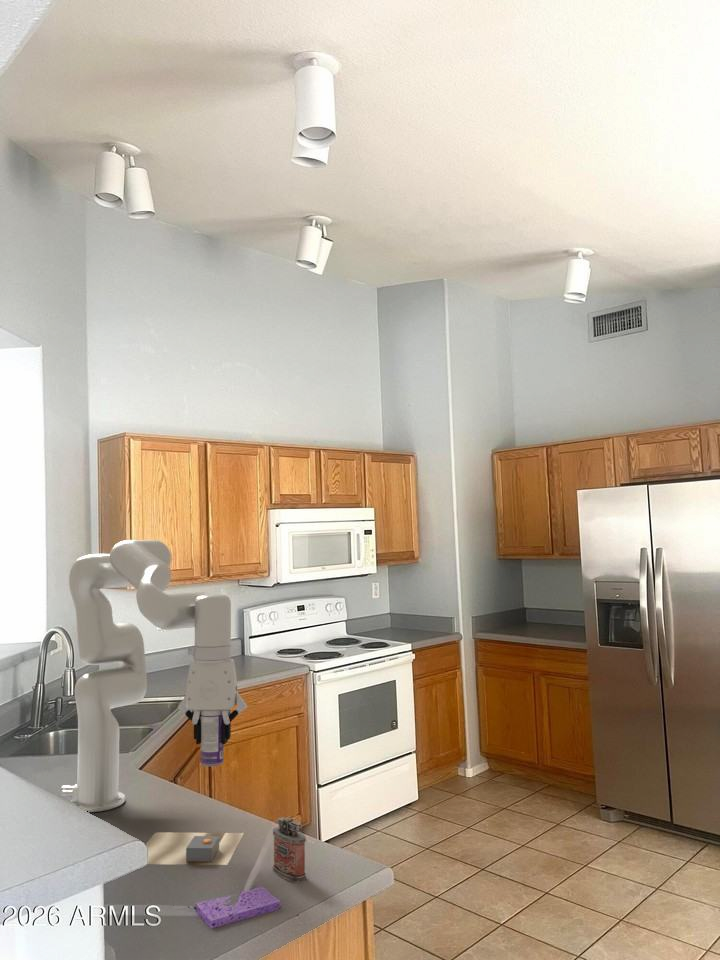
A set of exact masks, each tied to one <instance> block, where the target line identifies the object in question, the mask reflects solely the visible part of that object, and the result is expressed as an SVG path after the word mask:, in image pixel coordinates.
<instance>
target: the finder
mask: <svg viewBox="0 0 720 960" xmlns="http://www.w3.org/2000/svg"><path fill="white" fill-rule="evenodd" d="M218 851H219V836H194V838H193V839H192V840H191V842H190V843H189V845H188V846H187V848H186V862H212V861H213V859H214V857H215V856H216V854H217V852H218Z"/></svg>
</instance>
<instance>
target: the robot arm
mask: <svg viewBox="0 0 720 960" xmlns="http://www.w3.org/2000/svg"><path fill="white" fill-rule="evenodd" d="M171 561H172V554H171V552H170V549H169V548H168V546H167V545H166V543H164V542H163V541H161V540H156V539H128V540H123V541H122V540H121V541H119V542H118V543H116V544H115V545H114V546H113V547H112V548H111V549H110V551H109V553H94V554H93V553H92V554H87V555H84V556H81V557H78V558H77V559H76V560H75V561H74V563H73V564H72V566H71V567H70V570H69V574H68V575H69V576H68V585H69V590H70V595H71V598H72V601H73V605H74V608H75V615H76V616H75V617H76V632H77V647H78V653H79V658H80V660H81V661H82V662H83V664H85V665H88V666H96V665H98V666H99V665H106V664H113V663H117V664H118V667H114V668H106V669H98V670H93V671H90V672H87V673H85V674H83V675H81V677H79V678H78V680H77V681H76V683H75V685H74V698H75V699H74V701H75V704H76V705H75V706H76V711H77V732H78V733H77V735H78V736H77V772H76V773H77V774H76V775H77V776H76V778H77V779H76V780H77V781H76V784H75V785H62V786H61V788H60V793H61V796H62V797H70V798H71V800H70V801H69V804H70V803H72V804H74V805H76V806H78V807H80V808H82V809H84V810H86V811H88V812H87V813H96V812H103V811H109V810H112V809H115V808H118V807H119V806H122V805H123V803H125V801H126V794H124V793H123V792H121V791H119V783H120V782H119V781H120V780H119V773H120V768H119V767H120V725H119V722H118V720H117V719H116V717H115V715H114V714H113V713H112V711H111V710H112V709H115V708H120V707H125V706H126V707H127V706H131V705H135V704H137V703H140V702H141V701H142V700H143V699H144V697H145V696H146V693H147V688H148V679H147V676H148V675H147V667H146V664H147V663H146V655H145V652H146V651H145V643H144V637H143V634H142V633H141V630H140V629H139V628H138V627H137V626H136V625H135V624H133V623H130V622H129V623H128V622H122V623H121V622H120V623H114V618H113V617H114V616H113V609H112V608H113V607H112V604H111V601H109V598H107V596H106V595H105V594H104V592H102V590H101V589H115V588H133V587H134V588H135V589H136V594H135V595H136V596H135V597H136V598H135V599H136V605H137V606H138V610H139V612H140V613H141V615H142V616H143V617H144V618H146V620H147V621H149V623H151V624H152V625H154V626H155V627H156V628H159V629H162V630H164V631H165V630H166V631H173V630H178V629H179V630H181V629H191V628H192V629H193V628H194V646H193V647H191V648H188V649H187V655H188V656H192V657H193V659H194V660H193V659H192V660H191V661H190V662H189V666H188V674H187V681H186V690H185V691H186V692H185V696H184V697H183V699H182V700H181V701H180V702H179V703H178V705H177V710H179V711H180V712H181V713H183V714H184V716H186V717H187V718H188V719H189V721H191V723H192V725H193V740H195V745H201V711H221V712H222V716H223V720H224V721H223V724H222V734H221V743H222V744H224V745H226V744H227V743H228V741H229V740H230V739H231V735H232V734H231V733H232V731H231V724H232V722H233V720H234V719H235V718H237V716H238V715H239V714H241V713H242V712H243V711H245V710H246V709H247V708H248V705H247V703H246V701H244V699H243V697H242V696H241V695H240V694H239V693H238V680H237V671H236V664H235V660H234V659H233V658H232V655H231V654H232V651H231V650H232V647H231V646H232V644H231V643H232V633H231V632H232V602H231V601H232V600H231V598H230V596H228V595H226V594H218V593H217V594H211V593H208V592H207V593H206V592H199V591H198V592H180V593H168V594H167V593H165V590H166V589H167V588H168V586H169V585H170V583H171V579H172V571H171V568H170V566H171ZM236 705H237V707H236V708H235V709H234V710H233V711H231V710H232V709H233V708H234V707H235V706H236Z"/></svg>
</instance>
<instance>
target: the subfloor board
mask: <svg viewBox="0 0 720 960" xmlns="http://www.w3.org/2000/svg"><path fill="white" fill-rule="evenodd" d="M244 834H245V832H167V831H166V832H164V831H162V832H161V831H160V832H159V831H158V832H157V831H156V832H154V834H153V835H152V836H151V837H150V838H149V840H148V841H147V842H146V843H145V844H146V846H147V849H148V864H147V865H153V866H154V865H162V866H163V865H165V866H167V865H169V866H171V865H172V866H173V865H174V866H177V865H178V866H179V865H180V866H181V865H183V866H228V865H229V862H230V861H231V858H233V856H234V853H235V851H237V848H238V846H239V844H240V842H241V840H242V838H243V837H244ZM194 836H219V851H218V852H217V854H216V856H215V857H214V859H213V861H212V862H186V848H187V846H188V845H189V843H190V842H191V840H192V839H193V838H194Z"/></svg>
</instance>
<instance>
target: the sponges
mask: <svg viewBox="0 0 720 960" xmlns="http://www.w3.org/2000/svg"><path fill="white" fill-rule="evenodd" d="M234 896H237V893H234V894H231V895H230V894H229V895H226V896H222V897H217V898H212V899H211V900H204V901H200V902H196V903H195V906H196V907H195V912H196V913H197V915H198V916H199V917H200V918H201V919H202V920H203V921H204V923H206V925H208V927H209V928H210V929H214V928H217V927H222V926H224V925H228V924H232V923H235V922H239V921H242V920H244V919H249V918H253V917H255V916H259V915H263V914H266V913H267V914H268V913H270V912H274V911H278V909H280V907H281V900H280V899H278V897H276V896H274V895H272V894H271V893H270V892H269V891H267V889H266V888H264V887H263V886H260V887H256V888H253V889H249V890H245V891H242V892H240V894H239V896H238V898H237V900H236V903H235V904H233V903H232V905H231V904H230V902H231V900H229V899H232V900H233V899H234V898H231V897H234ZM226 901H227V902H226ZM228 904H230V905H228Z"/></svg>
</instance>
